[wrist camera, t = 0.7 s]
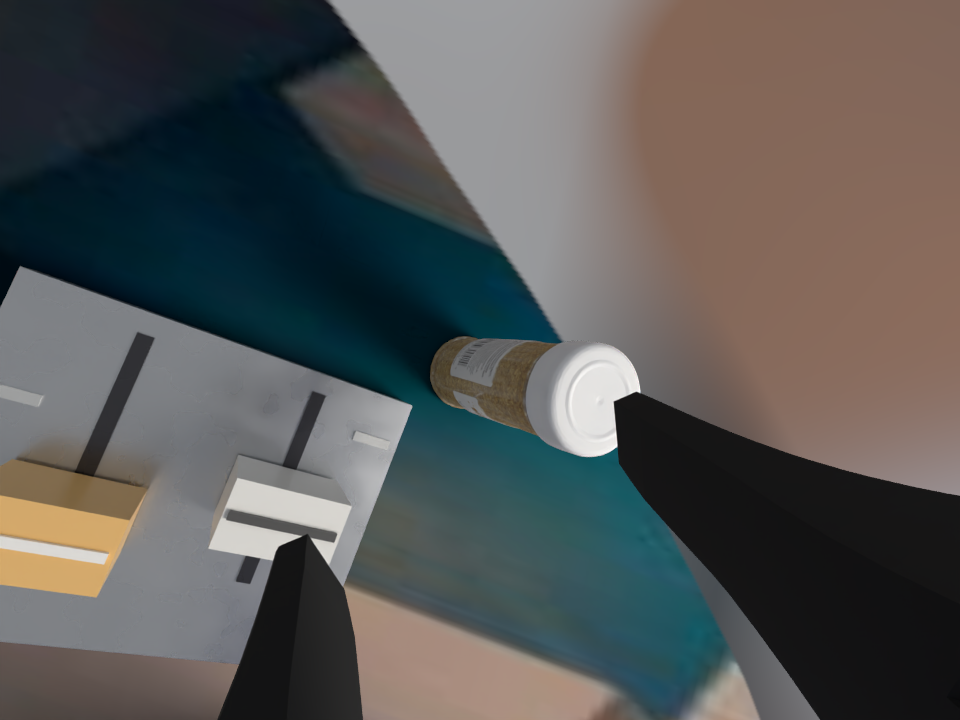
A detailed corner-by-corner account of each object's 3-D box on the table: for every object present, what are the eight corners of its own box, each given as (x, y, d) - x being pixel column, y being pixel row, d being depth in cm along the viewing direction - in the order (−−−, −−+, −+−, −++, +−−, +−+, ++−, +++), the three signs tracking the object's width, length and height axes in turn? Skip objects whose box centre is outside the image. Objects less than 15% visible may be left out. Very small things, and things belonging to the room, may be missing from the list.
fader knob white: (315, 536, 26) (327, 572, 22) (213, 514, 24) (208, 549, 20) (337, 480, 26) (352, 507, 23) (238, 454, 24) (237, 478, 20)
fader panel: (306, 648, 28) (310, 672, 26) (-118, 600, 21) (-155, 629, 19) (402, 400, 30) (413, 406, 28) (38, 270, 22) (18, 266, 20)
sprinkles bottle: (440, 418, 31) (567, 479, 19) (418, 348, 30) (537, 365, 18) (502, 391, 33) (655, 432, 21) (483, 325, 32) (632, 326, 20)
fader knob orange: (120, 553, 22) (95, 599, 19) (-21, 529, 20) (-80, 576, 17) (147, 488, 23) (128, 522, 19) (12, 459, 21) (-40, 489, 17)
